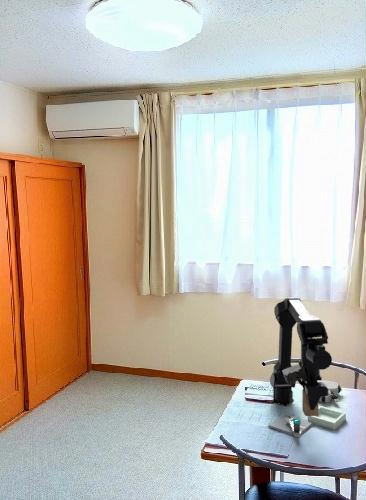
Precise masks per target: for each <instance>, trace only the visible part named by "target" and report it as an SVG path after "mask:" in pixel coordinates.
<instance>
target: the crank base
mask: <svg viewBox="0 0 366 500" xmlns="http://www.w3.org/2000/svg"><path fill="white" fill-rule="evenodd" d="M287 416H291V415H290V414H287V413H283V414H282V415H281V416H279V417H278V418H276V419H275V420H273V421H272V422H270V423H269V424H268V425H267V428H270V429H272V430H276V431H278V432H281V433H285V434H288V435H290V436H293V437H294V434H293V432H292V430H291V428H290V426H289V425H287V424H286V423H285V417H287ZM294 417H295V418H296V419H300V420H301V423H300V432H301V435H302V434H304V433H305V432H306V431H307V430H308V429H310V428H311V427H312V426H314V424H313V422H310V421H308V420H307V419H306V420H305V419H302V418H299V417H296V416H294Z"/></svg>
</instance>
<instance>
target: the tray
mask: <svg viewBox="0 0 366 500" xmlns="http://www.w3.org/2000/svg"><path fill="white" fill-rule="evenodd" d="M346 418H347V413H346V412H344V411H341V410H340V411H339V410H336V409H334V408H333V409H332V408H329V407H325V406H322V405H318V416H307V421H310V422H313V425H317V426H319V427H322V428H326V429H329V430H332V431H335V430H337V429H338V428H339V427H340V426H341V425H342V424H344V422H345V421H346V420H347V419H346Z"/></svg>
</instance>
